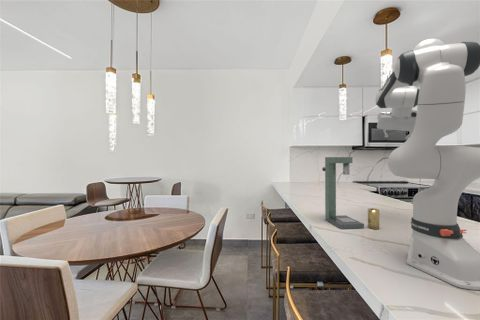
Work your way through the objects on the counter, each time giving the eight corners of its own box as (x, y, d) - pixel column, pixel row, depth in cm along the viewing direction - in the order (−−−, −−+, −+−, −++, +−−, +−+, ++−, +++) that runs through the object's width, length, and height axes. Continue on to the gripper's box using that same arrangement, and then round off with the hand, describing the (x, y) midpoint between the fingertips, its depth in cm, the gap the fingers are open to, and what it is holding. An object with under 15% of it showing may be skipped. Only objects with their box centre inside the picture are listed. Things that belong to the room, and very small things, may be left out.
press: (364, 227, 111) (364, 157, 110) (339, 228, 110) (339, 157, 109) (339, 215, 133) (339, 156, 132) (319, 216, 132) (319, 157, 131)
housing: (381, 229, 109) (381, 210, 109) (372, 229, 109) (372, 210, 108) (374, 225, 114) (374, 207, 114) (365, 226, 114) (365, 208, 113)
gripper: (377, 112, 123) (373, 137, 127) (425, 114, 111) (419, 141, 116) (379, 111, 128) (375, 135, 132) (424, 112, 116) (418, 139, 121)
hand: (396, 138), depth 124 cm, fingers open, 8 cm apart
